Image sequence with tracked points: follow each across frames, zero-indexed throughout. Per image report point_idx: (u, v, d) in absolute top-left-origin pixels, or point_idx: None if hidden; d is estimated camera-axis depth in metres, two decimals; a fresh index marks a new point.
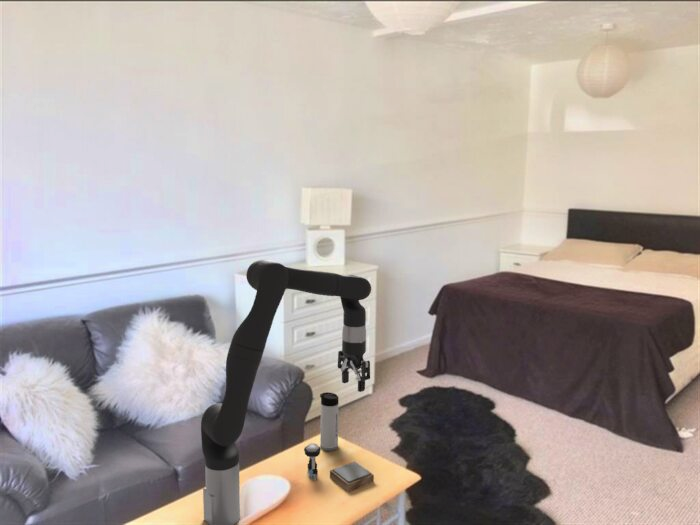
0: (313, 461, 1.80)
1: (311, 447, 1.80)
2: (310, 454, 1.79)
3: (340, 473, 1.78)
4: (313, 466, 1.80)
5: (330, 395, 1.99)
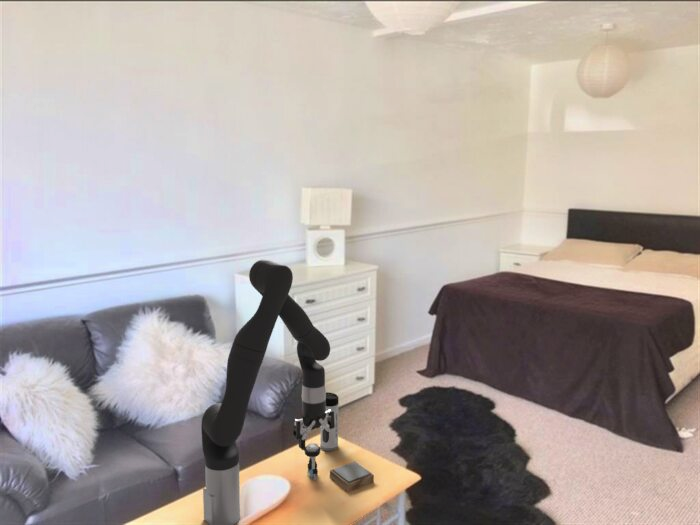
0: (313, 461, 1.80)
1: (311, 447, 1.80)
2: (310, 454, 1.79)
3: (340, 473, 1.78)
4: (313, 466, 1.80)
5: (330, 395, 1.99)
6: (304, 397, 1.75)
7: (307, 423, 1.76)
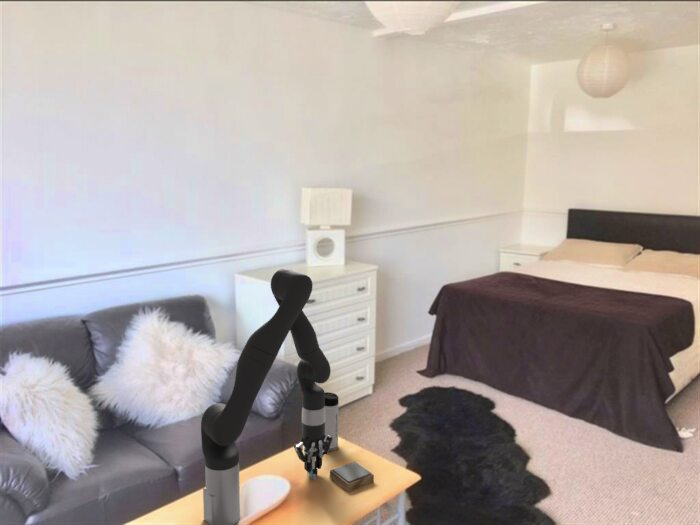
0: (313, 461, 1.80)
1: None
2: None
3: (340, 473, 1.78)
4: (313, 466, 1.80)
5: (330, 395, 1.99)
6: (304, 419, 1.76)
7: (307, 447, 1.78)
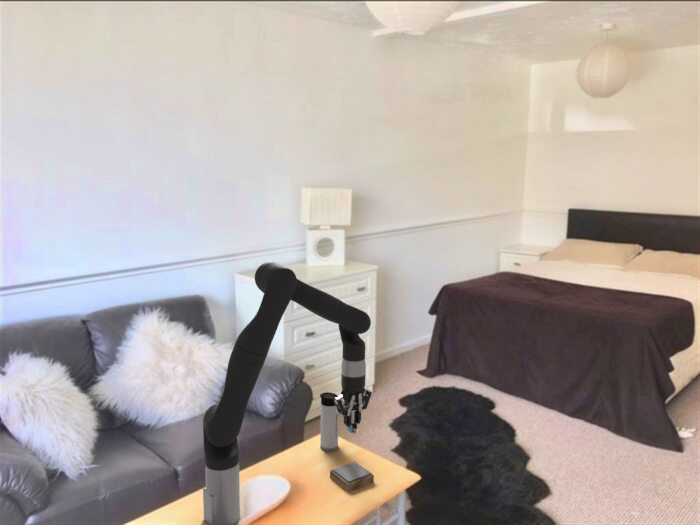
0: (352, 415, 1.75)
1: None
2: None
3: (340, 473, 1.78)
4: (352, 420, 1.76)
5: (330, 395, 1.99)
6: (344, 371, 1.72)
7: (347, 400, 1.73)
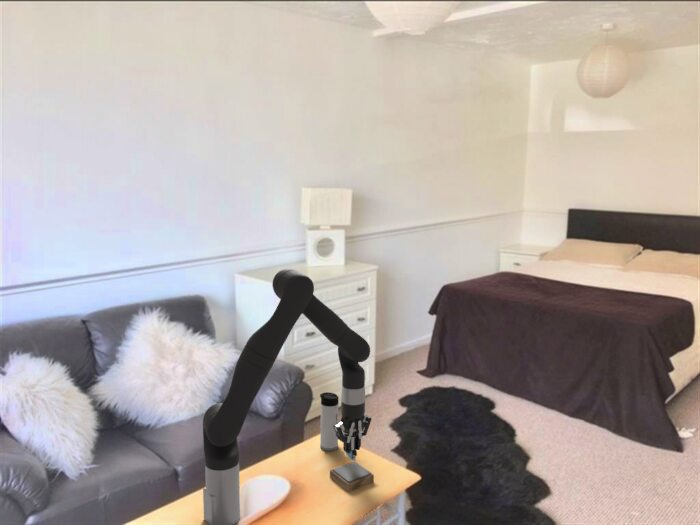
0: (352, 442, 1.77)
1: None
2: None
3: (340, 473, 1.78)
4: (352, 447, 1.77)
5: (330, 395, 1.99)
6: (344, 398, 1.73)
7: (347, 427, 1.74)
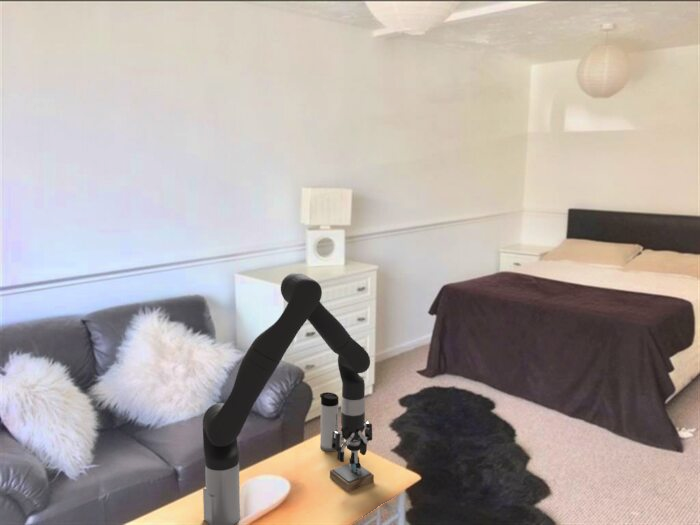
0: (356, 455, 1.78)
1: (353, 441, 1.78)
2: (353, 448, 1.77)
3: (340, 473, 1.78)
4: (356, 460, 1.79)
5: (330, 395, 1.99)
6: (344, 409, 1.74)
7: (346, 435, 1.75)
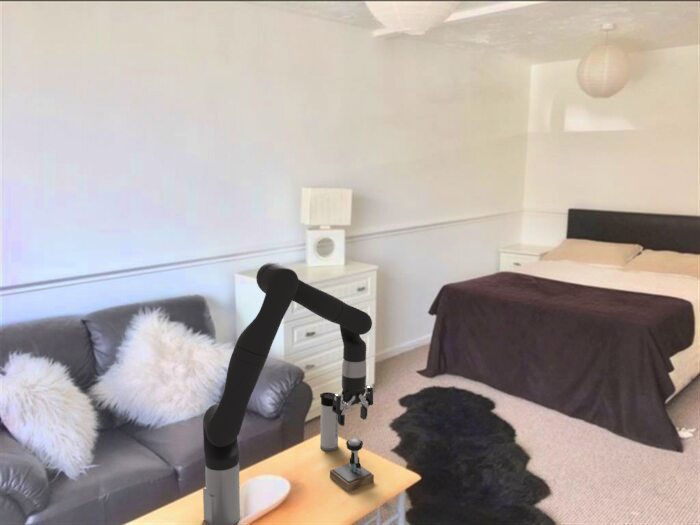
0: (356, 455, 1.78)
1: (353, 441, 1.78)
2: (353, 448, 1.77)
3: (340, 473, 1.78)
4: (356, 460, 1.79)
5: (330, 395, 1.99)
6: (345, 371, 1.72)
7: (347, 398, 1.73)
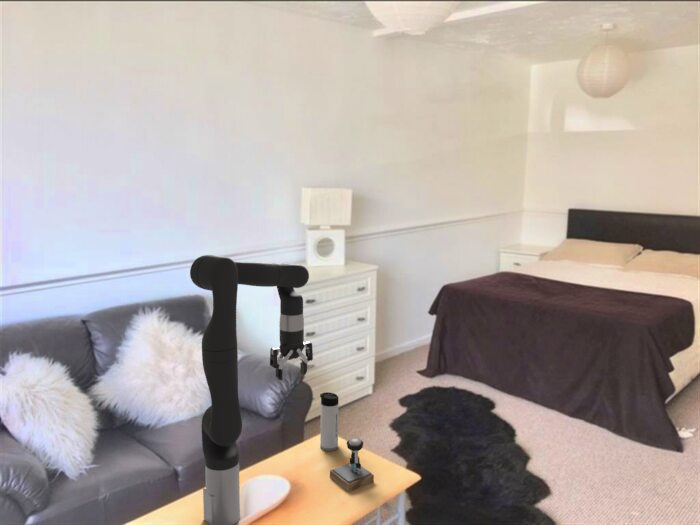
0: (356, 455, 1.78)
1: (354, 441, 1.78)
2: (354, 448, 1.77)
3: (340, 473, 1.78)
4: (356, 460, 1.79)
5: (330, 395, 1.99)
6: (282, 325, 1.72)
7: (284, 352, 1.74)
